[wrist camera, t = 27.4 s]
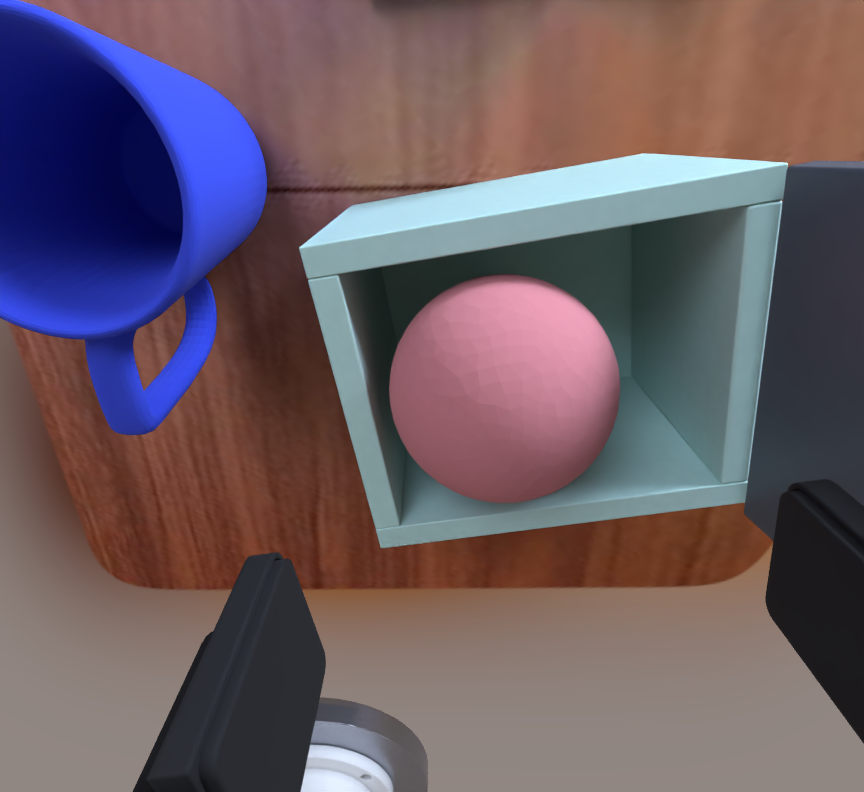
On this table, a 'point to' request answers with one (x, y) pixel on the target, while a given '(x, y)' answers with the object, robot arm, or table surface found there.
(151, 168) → the mug
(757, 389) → the mint green open box
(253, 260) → the table surface
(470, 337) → the light bulb
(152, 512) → the table surface
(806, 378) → the lid
